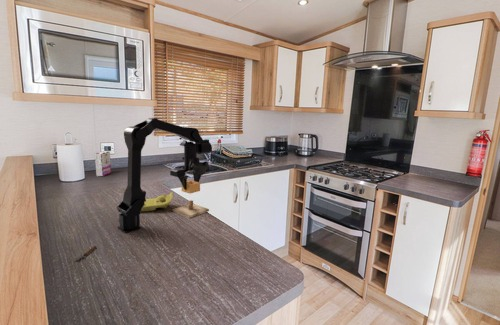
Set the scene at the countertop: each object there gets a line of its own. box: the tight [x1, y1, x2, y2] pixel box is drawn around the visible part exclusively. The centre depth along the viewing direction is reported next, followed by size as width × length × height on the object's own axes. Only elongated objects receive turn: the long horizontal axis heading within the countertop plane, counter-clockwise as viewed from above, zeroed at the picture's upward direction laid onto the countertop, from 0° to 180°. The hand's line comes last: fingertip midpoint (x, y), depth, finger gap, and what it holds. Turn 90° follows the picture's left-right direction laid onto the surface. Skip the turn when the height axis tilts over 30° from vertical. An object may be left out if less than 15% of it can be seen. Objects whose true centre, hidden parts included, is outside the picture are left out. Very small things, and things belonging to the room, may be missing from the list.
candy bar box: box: [94, 150, 112, 177], centre depth 188 cm, size 11×5×16 cm, turn 179°
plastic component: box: [141, 191, 174, 212], centre depth 128 cm, size 20×7×10 cm
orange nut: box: [181, 180, 201, 195], centre depth 124 cm, size 6×6×4 cm
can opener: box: [74, 245, 97, 263], centre depth 85 cm, size 9×2×1 cm, turn 170°
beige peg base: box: [172, 199, 210, 219], centre depth 126 cm, size 12×12×5 cm
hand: (190, 188), depth 124 cm, fingers closed on orange nut, 6 cm apart
